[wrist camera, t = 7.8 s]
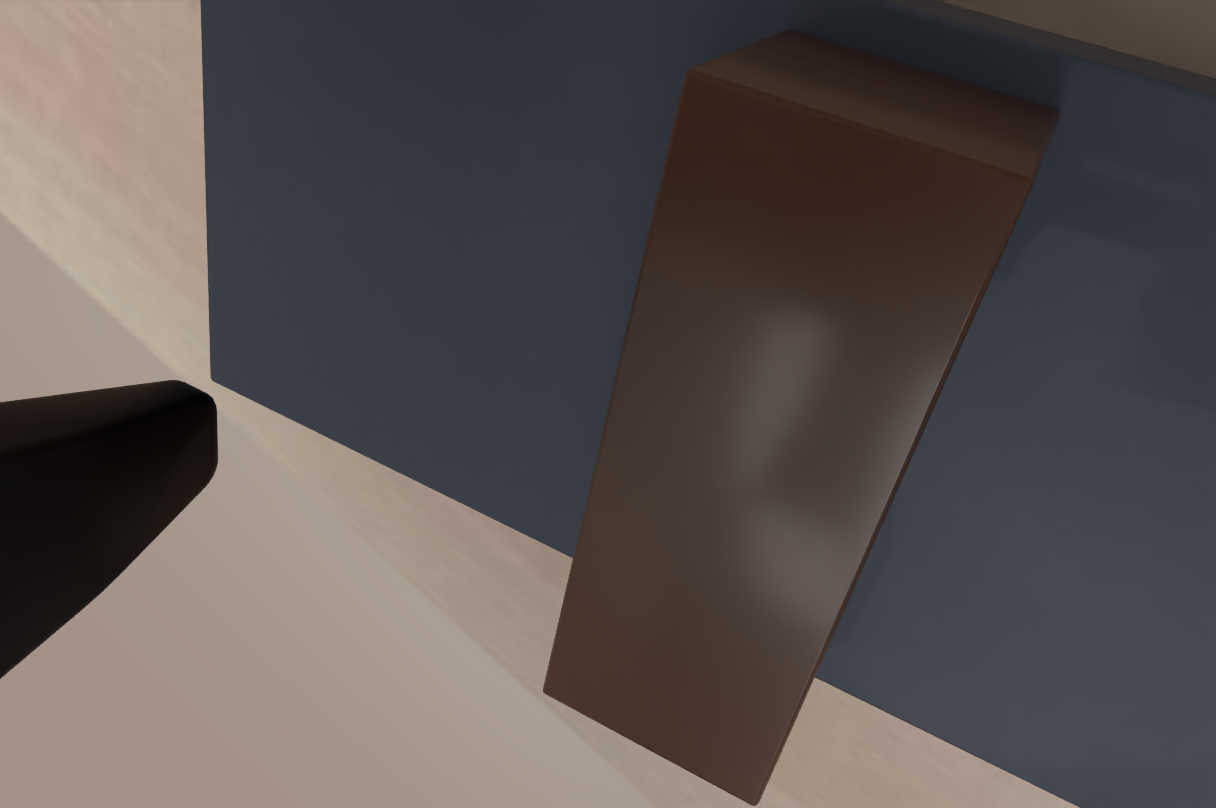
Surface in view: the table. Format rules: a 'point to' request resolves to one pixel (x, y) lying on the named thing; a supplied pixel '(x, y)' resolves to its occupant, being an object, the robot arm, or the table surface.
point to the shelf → (603, 293)
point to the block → (777, 383)
